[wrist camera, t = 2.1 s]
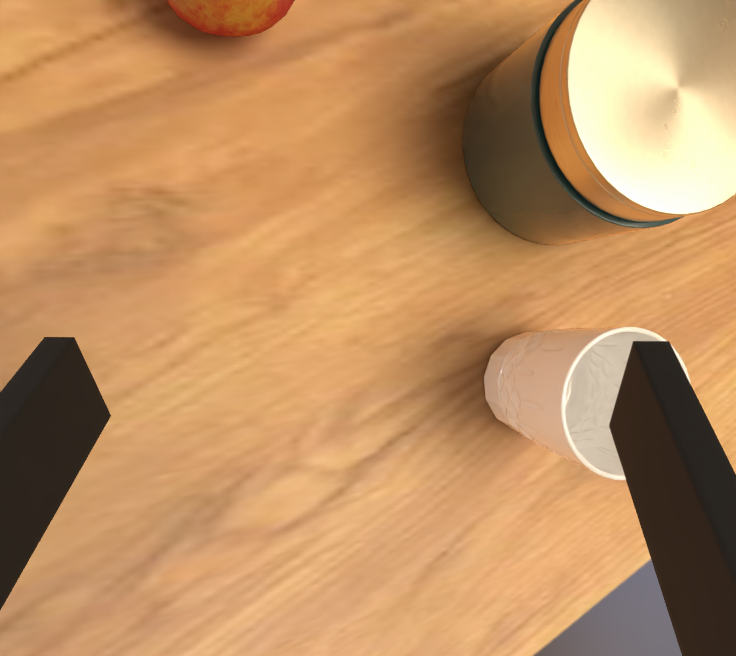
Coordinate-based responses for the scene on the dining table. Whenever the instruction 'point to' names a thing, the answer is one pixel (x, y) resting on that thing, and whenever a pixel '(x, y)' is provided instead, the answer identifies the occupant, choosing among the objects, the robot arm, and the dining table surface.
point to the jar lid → (644, 105)
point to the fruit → (231, 15)
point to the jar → (528, 156)
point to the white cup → (565, 390)
